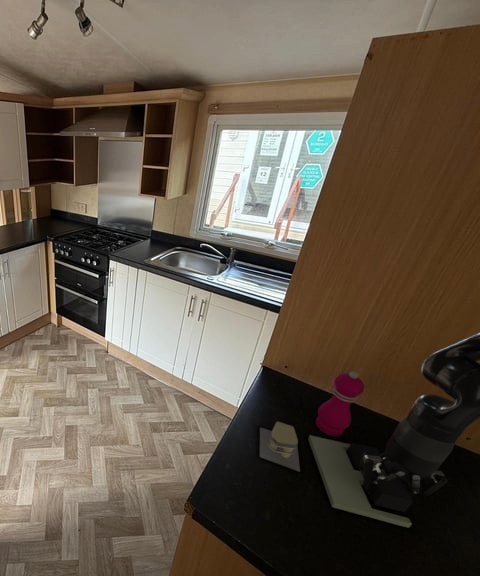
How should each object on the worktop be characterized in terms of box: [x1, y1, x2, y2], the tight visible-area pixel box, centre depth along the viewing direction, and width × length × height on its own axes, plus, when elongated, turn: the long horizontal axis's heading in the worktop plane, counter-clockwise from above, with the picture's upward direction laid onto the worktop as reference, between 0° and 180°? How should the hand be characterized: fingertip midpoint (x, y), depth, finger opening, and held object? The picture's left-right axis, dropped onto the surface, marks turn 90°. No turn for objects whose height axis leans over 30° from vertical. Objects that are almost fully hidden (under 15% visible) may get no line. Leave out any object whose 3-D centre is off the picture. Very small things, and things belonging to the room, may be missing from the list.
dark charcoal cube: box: [346, 442, 386, 473], centre depth 77 cm, size 5×5×4 cm
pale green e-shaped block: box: [307, 434, 413, 529], centre depth 74 cm, size 14×18×2 cm
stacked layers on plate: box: [259, 421, 301, 473], centre depth 80 cm, size 10×9×6 cm
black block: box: [364, 474, 414, 513], centre depth 68 cm, size 5×5×4 cm
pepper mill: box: [315, 371, 365, 438], centre depth 83 cm, size 7×7×20 cm
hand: (383, 494), depth 69 cm, fingers closed on black block, 5 cm apart
